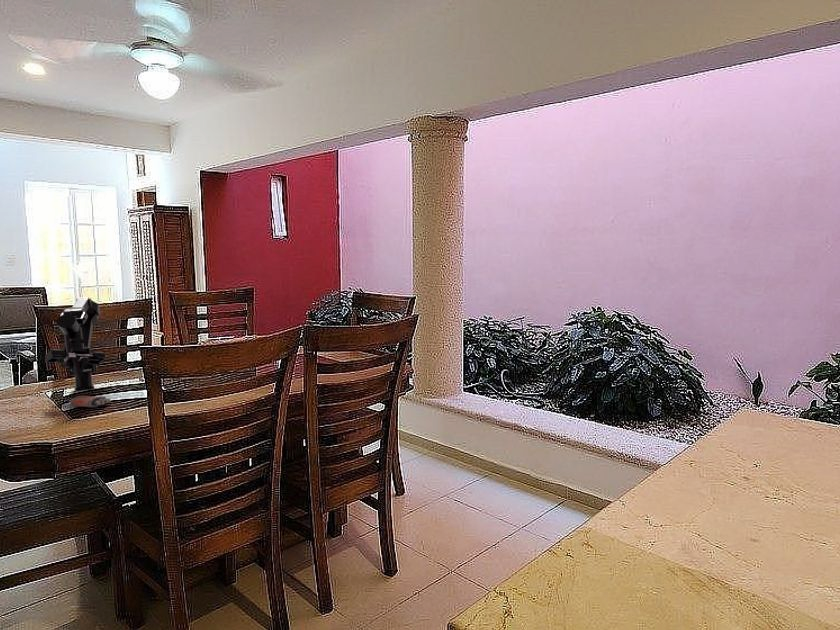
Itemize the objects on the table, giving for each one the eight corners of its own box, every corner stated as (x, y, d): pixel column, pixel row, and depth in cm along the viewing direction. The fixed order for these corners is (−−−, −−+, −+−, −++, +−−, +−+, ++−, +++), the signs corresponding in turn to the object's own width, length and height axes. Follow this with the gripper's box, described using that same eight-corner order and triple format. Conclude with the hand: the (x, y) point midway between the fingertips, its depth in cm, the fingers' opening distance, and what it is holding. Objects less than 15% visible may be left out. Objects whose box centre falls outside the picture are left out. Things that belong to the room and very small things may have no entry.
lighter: (69, 408, 195) (96, 409, 193) (69, 398, 195) (95, 399, 193) (87, 403, 203) (112, 404, 201) (87, 394, 203) (112, 395, 201)
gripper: (89, 351, 222) (94, 388, 217) (35, 347, 207) (40, 387, 202) (103, 338, 217) (109, 375, 212) (50, 333, 202) (54, 373, 197)
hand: (79, 378), depth 206 cm, fingers closed
